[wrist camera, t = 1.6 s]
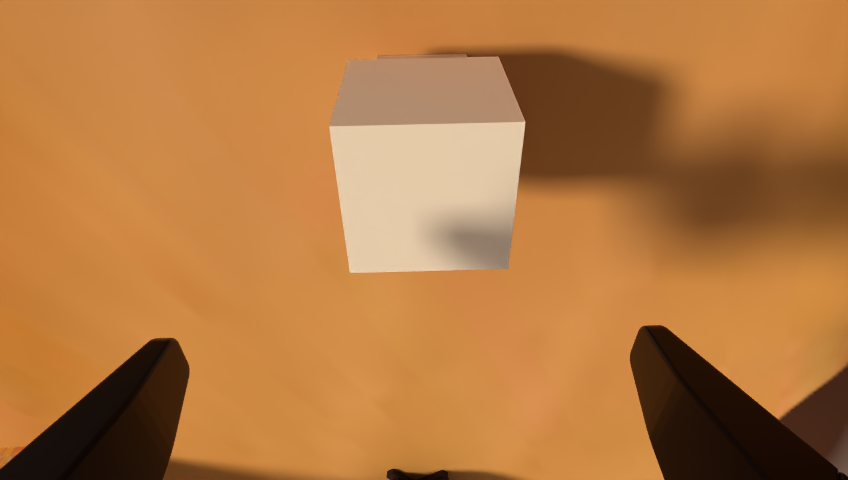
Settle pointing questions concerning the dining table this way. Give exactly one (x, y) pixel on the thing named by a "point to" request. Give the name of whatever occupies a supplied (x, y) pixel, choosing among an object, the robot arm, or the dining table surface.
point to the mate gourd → (441, 476)
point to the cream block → (427, 162)
